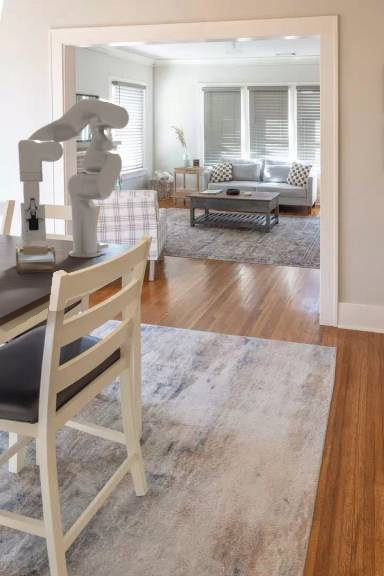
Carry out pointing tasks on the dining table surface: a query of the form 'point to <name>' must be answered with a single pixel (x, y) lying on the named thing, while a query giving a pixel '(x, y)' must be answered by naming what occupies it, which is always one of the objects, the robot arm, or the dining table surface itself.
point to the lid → (35, 254)
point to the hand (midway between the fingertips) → (33, 228)
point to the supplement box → (26, 233)
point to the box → (35, 264)
